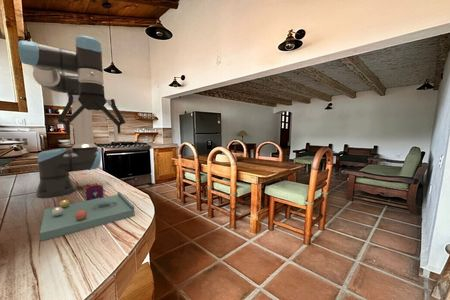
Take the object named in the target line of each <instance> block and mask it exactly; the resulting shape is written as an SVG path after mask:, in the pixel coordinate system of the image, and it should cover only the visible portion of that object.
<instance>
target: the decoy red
mask: <svg viewBox="0 0 450 300" xmlns="http://www.w3.org/2000/svg"><path fill="white" fill-rule="evenodd" d="M86 216H87V212H86V211H85V210H79V211H78V212H77V213H76V214H75V218H76V219H78V220H82V219H84V218H85V217H86Z"/></svg>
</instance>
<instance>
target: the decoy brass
mask: <svg viewBox="0 0 450 300" xmlns="http://www.w3.org/2000/svg"><path fill="white" fill-rule="evenodd" d="M69 204H71V202H70V200H69V199H64V198H63V199H62V200H60V201H59V203H58V205H59V206H60V207H62V208H66V207H68V206H69Z"/></svg>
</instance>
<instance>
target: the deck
mask: <svg viewBox="0 0 450 300" xmlns="http://www.w3.org/2000/svg"><path fill="white" fill-rule="evenodd" d="M56 207H60V205H59V206H54V207H48V208H44V209H43V210H44V212H43V216H42V220H41V224H40V225H41V227H40V231H39V237H40V242H43V241H47V240H50V239H54V238H59V237H61V236H65V235H68V234H73V233H77V232H81V231H84V230H87V229H91V228H95V227H98V226H102V225H105V224H110V223H113V222H116V221H121V220H124V219H128V218H132V217H135V206H134V204H132V202H130V201H129V200H128V198H126V196H124V195H123V194H122V193H121V192H120V191H118V192H117V194H115V195H110V196H104V198H98V199H93V200H88V201H86V200H84V201H78V202H73V203H70V204H69V206H68V207H66V208H63V210H64V212H63V214H62V215H60V216H53V215H52V210H53V209H54V208H56ZM79 210H85V211H86V212H87V216H86V217H85V218H84V219H82V220H78V219H76V218H75V214H76V213H77V212H78V211H79Z"/></svg>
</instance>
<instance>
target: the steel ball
mask: <svg viewBox="0 0 450 300" xmlns="http://www.w3.org/2000/svg"><path fill="white" fill-rule="evenodd" d="M55 207H56V208H54V209H53V210H52V215H53V216H60V215H62V214H63V212H64V210H63V208H62V207H57V206H55Z"/></svg>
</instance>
